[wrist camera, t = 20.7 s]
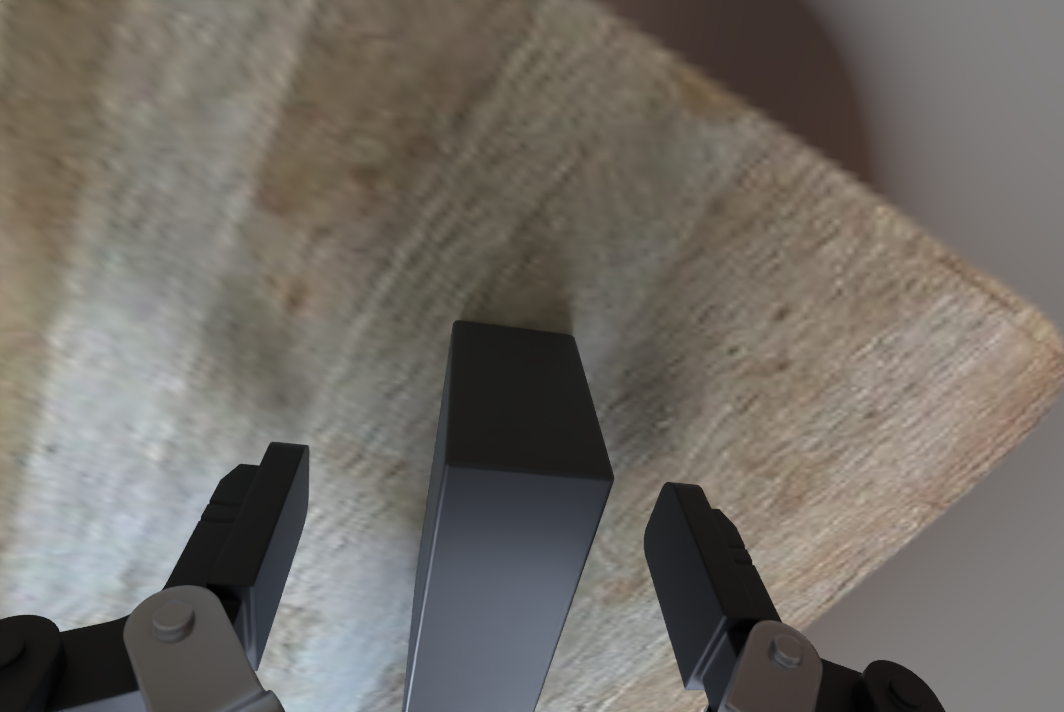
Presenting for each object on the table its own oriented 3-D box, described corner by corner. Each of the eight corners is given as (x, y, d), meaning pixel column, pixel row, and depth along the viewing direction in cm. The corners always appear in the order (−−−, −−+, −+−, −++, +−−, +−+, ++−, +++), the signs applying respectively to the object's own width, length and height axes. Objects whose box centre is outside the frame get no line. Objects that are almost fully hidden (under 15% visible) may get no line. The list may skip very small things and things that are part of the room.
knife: (454, 318, 13) (443, 461, 9) (574, 334, 13) (616, 478, 9) (385, 782, 22) (366, 951, 18) (457, 783, 22) (453, 948, 18)
